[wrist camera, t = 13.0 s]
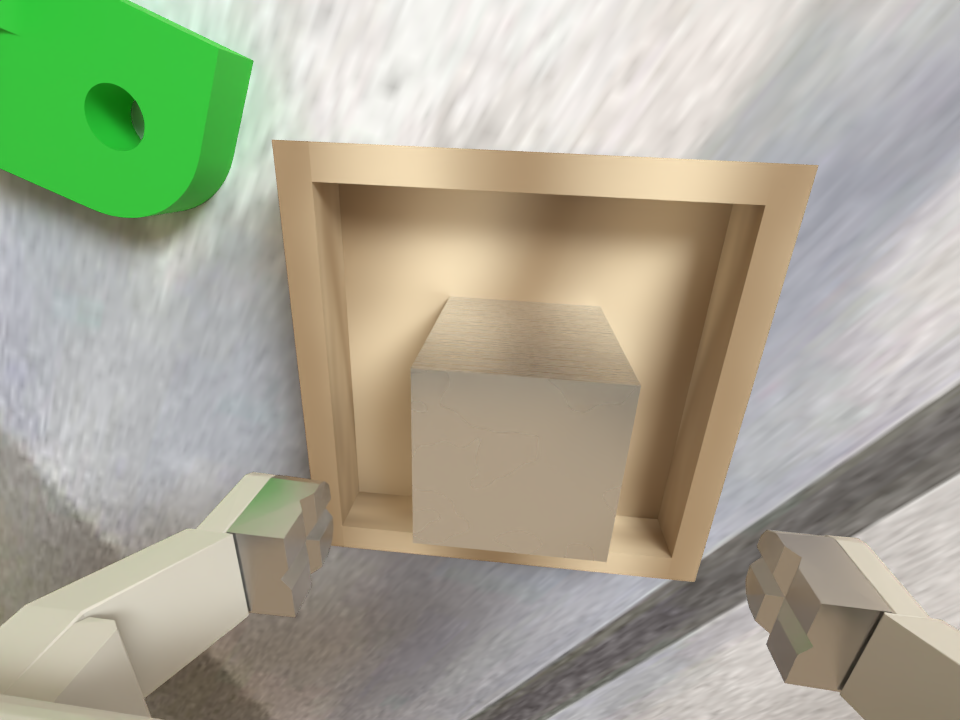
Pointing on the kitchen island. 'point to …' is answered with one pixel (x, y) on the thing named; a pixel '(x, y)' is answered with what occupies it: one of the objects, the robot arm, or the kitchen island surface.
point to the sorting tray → (533, 278)
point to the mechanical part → (116, 105)
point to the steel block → (520, 428)
